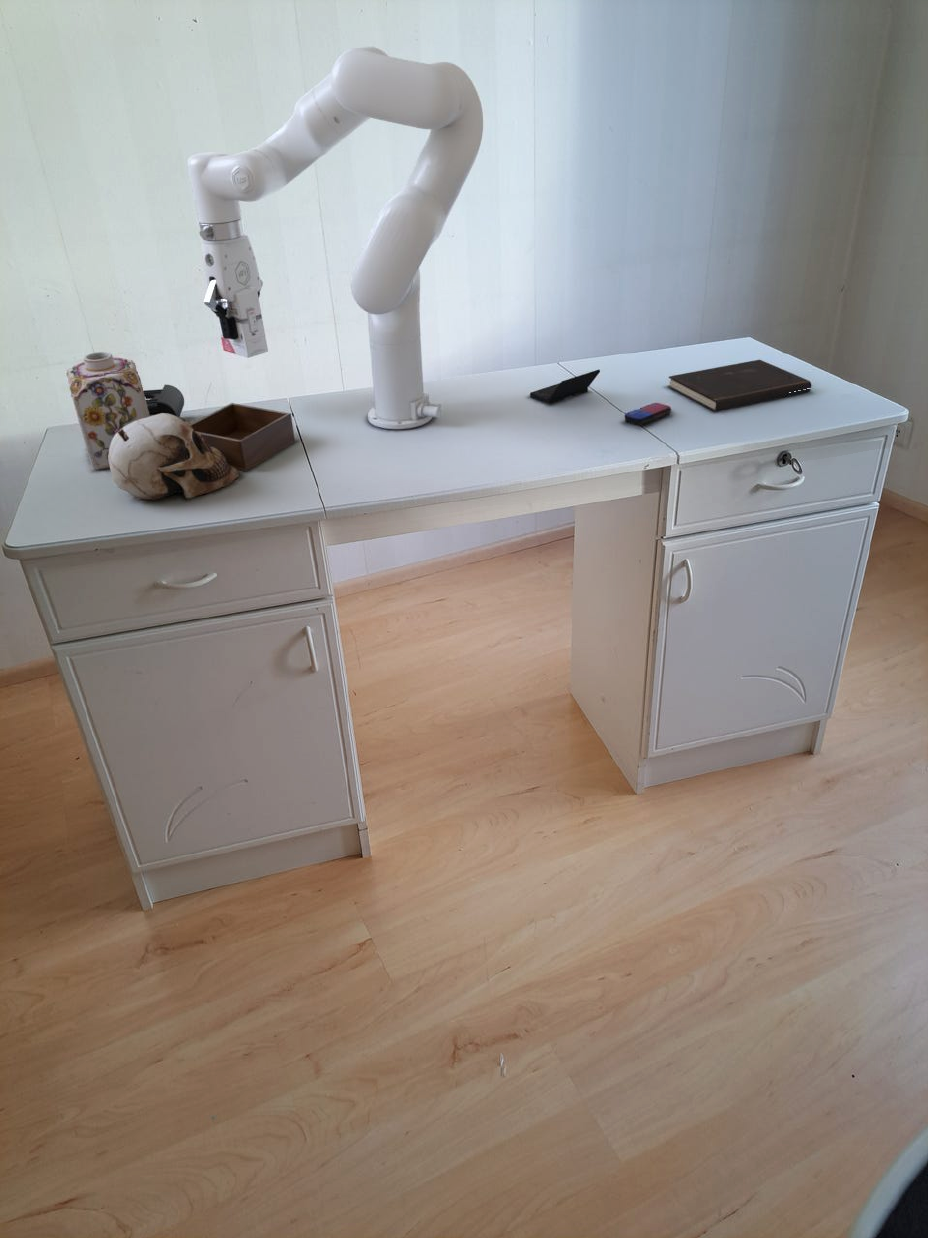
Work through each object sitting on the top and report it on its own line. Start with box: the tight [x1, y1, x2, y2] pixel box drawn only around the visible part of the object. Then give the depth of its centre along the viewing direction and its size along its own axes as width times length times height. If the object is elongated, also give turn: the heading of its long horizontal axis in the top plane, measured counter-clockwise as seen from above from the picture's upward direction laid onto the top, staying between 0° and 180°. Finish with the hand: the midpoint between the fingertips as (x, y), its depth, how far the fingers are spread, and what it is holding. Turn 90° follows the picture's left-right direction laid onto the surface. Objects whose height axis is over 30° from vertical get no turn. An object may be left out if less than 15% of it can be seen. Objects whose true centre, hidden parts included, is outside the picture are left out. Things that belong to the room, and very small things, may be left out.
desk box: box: [189, 402, 296, 472], centre depth 156 cm, size 14×14×6 cm
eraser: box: [624, 402, 672, 427], centre depth 164 cm, size 11×4×2 cm, turn 133°
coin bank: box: [108, 413, 240, 501], centre depth 142 cm, size 16×17×13 cm
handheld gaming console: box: [529, 369, 601, 406], centre depth 174 cm, size 12×7×10 cm
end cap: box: [143, 384, 185, 418], centre depth 166 cm, size 10×7×7 cm
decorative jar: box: [66, 351, 150, 471], centre depth 153 cm, size 12×12×18 cm
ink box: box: [216, 286, 269, 359], centre depth 163 cm, size 9×5×12 cm, turn 47°
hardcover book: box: [667, 359, 812, 412], centre depth 175 cm, size 16×23×2 cm
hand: (242, 332), depth 164 cm, fingers closed on ink box, 5 cm apart
